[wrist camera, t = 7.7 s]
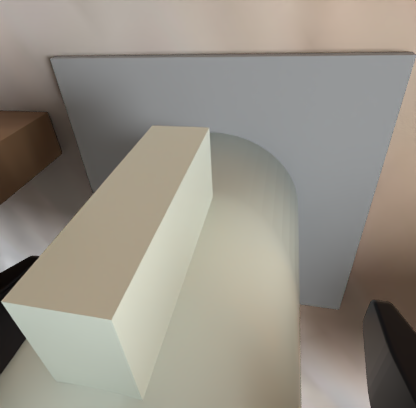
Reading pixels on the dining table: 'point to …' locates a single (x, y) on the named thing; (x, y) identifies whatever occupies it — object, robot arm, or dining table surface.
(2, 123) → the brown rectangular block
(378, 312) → the robot arm
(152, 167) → the cylinder with square knob
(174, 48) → the dining table surface
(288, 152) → the slate mat
